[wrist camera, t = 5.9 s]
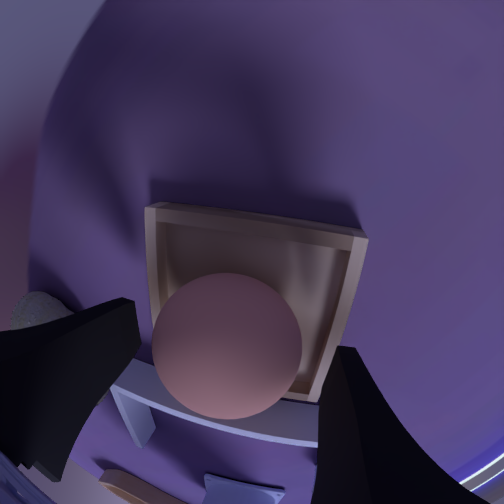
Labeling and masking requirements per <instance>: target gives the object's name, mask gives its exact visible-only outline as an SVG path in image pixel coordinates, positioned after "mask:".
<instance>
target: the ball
mask: <svg viewBox="0 0 504 504" xmlns="http://www.w3.org/2000/svg"><path fill="white" fill-rule="evenodd" d="M152 356H153V361H154V365H155V368H156V371H157V373H158V376H159V378H160V380H161V381H162V383H163V384H164V386H165V387H166V389H167V390H168V391H169V393H170V394H171V395H172V396H173V397H174V398H175V399H176V400H178V401H179V402H180V403H181V404H183V405H184V406H185V407H187V408H189V409H190V410H192V411H194V412H196V413H199V414H201V415H204V416H207V417H211V418H217V419H239V418H245V417H249V416H252V415H255V414H257V413H260V412H262V411H264V410H266V409H267V408H269V407H270V406H272V405H273V404H275V403H276V402H277V401H278V400H279V399H280V398H281V397H282V396H283V395H284V394H285V393H286V392H287V391H288V389H289V388H290V386H291V385H292V383H293V382H294V380H295V377H296V375H297V373H298V370H299V367H300V362H301V357H302V337H301V331H300V328H299V324H298V322H297V319H296V317H295V315H294V313H293V311H292V309H291V308H290V306H289V305H288V304H287V302H286V301H285V300H284V299H283V298H282V297H281V295H280V294H278V293H277V292H276V291H275V290H274V289H272V288H271V287H270V286H268V285H266V284H265V283H263V282H261V281H259V280H257V279H255V278H252V277H249V276H245V275H241V274H235V273H216V274H210V275H206V276H203V277H199V278H197V279H195V280H193V281H191V282H189V283H187V284H185V285H184V286H182V287H181V288H179V289H178V290H177V291H176V292H175V293H174V294H173V295H172V296H171V297H170V298H169V299H168V300H167V302H166V303H165V304H164V306H163V307H162V309H161V311H160V313H159V315H158V317H157V319H156V322H155V326H154V329H153V333H152Z"/></svg>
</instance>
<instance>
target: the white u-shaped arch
mask: <svg viewBox="0 0 504 504" xmlns="http://www.w3.org/2000/svg"><path fill="white" fill-rule="evenodd" d="M110 390H111V393H112V395H113V398H114V400H115V402H116V405H117V407H118V409H119V412H120V414H121V416H122V418H123V420H124V422H125V424H126V427H127V429H128V431H129V433H130V435H131V437H132V439H133V440H134V442H135V444H136V446H137V447H139V448H142V449H143V448H144V447H145V445H146V444H147V442H148V440H149V439H150V437H151V435H152V434H153V432H154V430H155V429H156V426H155V423H154V420H153V417H152V414H151V411H150V408H149V406H151V407H153V408H156V409H159V410H161V411H164V412H166V413H169V414H172V415H174V416H177V417H180V418H183V419H186V420H189V421H192V422H195V423H198V424H201V425H205V426H208V427H212V428H215V429H219V430H222V431H226V432H230V433H234V434H238V435H242V436H247V437H251V438H256V439H261V440H266V441H272V442H278V443H284V444H290V445H298V446H306V447H315V448H318V412H319V405H311V404H303V403H297V402H290V401H284V400H278V401H277V402H276V403H275V404H273V405H272V406H270V407H269V408H267V409H266V410H264V411H262V412H260V413H257V414H255V415H252V416H249V417H245V418H239V419H217V418H211V417H207V416H204V415H201V414H199V413H196V412H194V411H192V410H190V409H189V408H187V407H185V406H184V405H183V404H181V403H180V402H179V401H178V400H176V399H175V398H174V397H173V396H172V395H171V394H170V393H169V391H168V390H167V389H166V387H165V386H164V384H163V383H162V381H161V380H160V378H159V376H158V373H157V371H156V368H155V366H153V365H150V364H147V363H145V362H142V361H139V360H137V359H134V358H133V359H132V360H131V362H130V364H129V365H128V366H127V367H126V369H125V370H124V371H123V372H122V374H121V375H120V376H119V377H118V379H117V380H116V381H115V382H114V383H113V385H112V386H111V387H110ZM316 470H317V465H316V466H315V475H314V482H313V490H314V485H315V479H316ZM313 490H312V492H313Z"/></svg>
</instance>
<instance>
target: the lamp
mask: <svg viewBox="0 0 504 504" xmlns="http://www.w3.org/2000/svg"><path fill="white" fill-rule="evenodd" d="M98 482H99V483H100V484H101V485H102V486H103V487H105V488H106V489H107V490H109V491H110V492H112V493H114V494H115V495H117V496H118V497H120V498H122V499H123V500H125V501H127V502H128V503H130V504H187V503H185V502H183V501H180V500H178V499H176V498H174V497H172V496H170V495H168V494H167V493H165V492H163V491H161V490H159V489H157V488H155V487H154V486H152V485H150V484H148V483H146V482H145V481H143V480H141V479H139V478H137V477H135V476H133V475H131V474H128V473H126V472H124V471H121V470H118V469H106V470H105V472H104V473H103V475H102V476H101V478H100V479H99V481H98Z"/></svg>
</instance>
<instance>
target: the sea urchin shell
mask: <svg viewBox="0 0 504 504" xmlns="http://www.w3.org/2000/svg"><path fill="white" fill-rule="evenodd" d="M12 314H13V316H12V318H11V320H12V321H11V330H16V329H22V328H27V327H31V326H36V325H40V324H43V323H47V322H50V321H53V320H56V319H59V318H62V317H66V316H69V315H72V314H74V312H72V311H70V310H69V309H68V308H66V307H65V306H64V304H62V302H61V301H60V300H58V299H56V298H54V297H52V296H50V295H49V294H48V293H45V292H41V291H36V292H35V291H32V292H30V293H28V294H26V295H25V296H23V298H22V299H21V300H20V301H19V302H18V304H17V305H16V306H15V309H14V311H13V312H12ZM108 391H109V390H108ZM108 391H107V392H108ZM107 392H106V393H105V394H104V396H103V397H102V398H101V399H100V401H99V402H98V403H97V405H98V404H99V403H100V402H102V401H103V399H105V396H106V395H107Z"/></svg>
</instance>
